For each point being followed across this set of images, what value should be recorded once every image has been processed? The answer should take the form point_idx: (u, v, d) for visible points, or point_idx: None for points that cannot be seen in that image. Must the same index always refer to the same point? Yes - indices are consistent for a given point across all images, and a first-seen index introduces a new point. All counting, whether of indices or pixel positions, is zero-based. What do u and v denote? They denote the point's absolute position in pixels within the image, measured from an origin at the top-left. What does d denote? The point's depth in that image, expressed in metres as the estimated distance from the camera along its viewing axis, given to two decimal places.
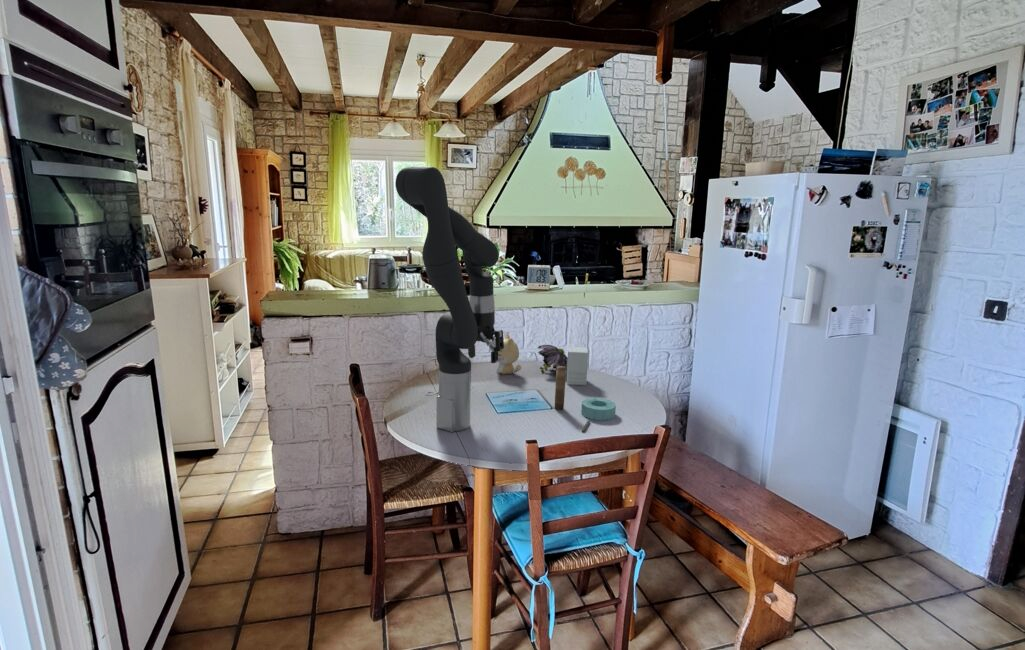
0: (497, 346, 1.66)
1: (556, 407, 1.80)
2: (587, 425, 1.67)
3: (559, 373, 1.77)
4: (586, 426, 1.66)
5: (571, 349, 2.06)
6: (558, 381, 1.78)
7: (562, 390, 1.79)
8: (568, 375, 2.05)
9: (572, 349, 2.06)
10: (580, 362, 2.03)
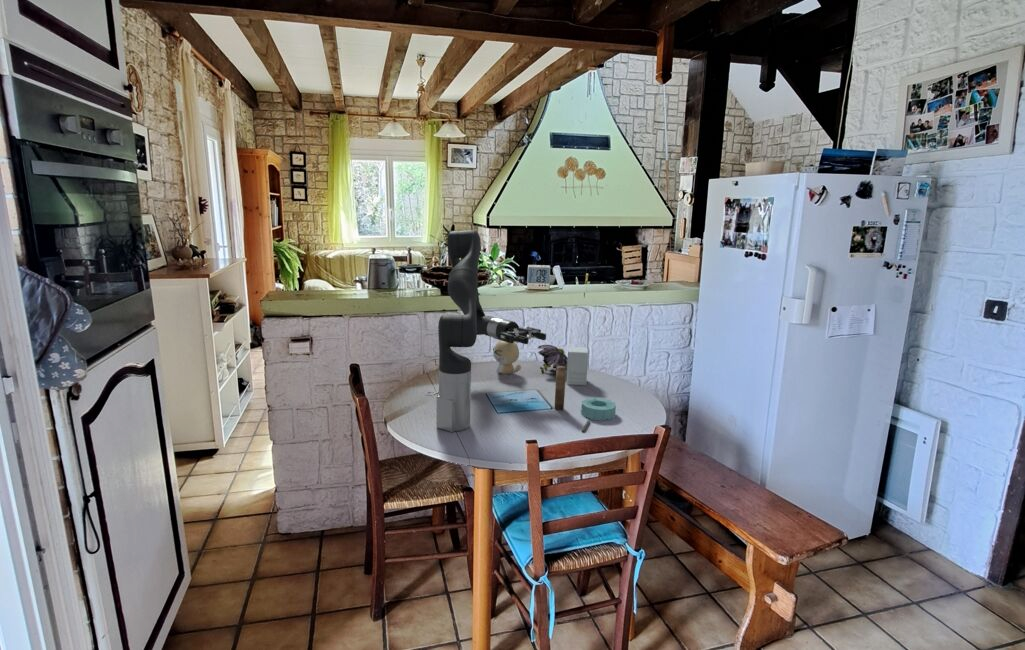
0: (537, 329, 1.93)
1: (556, 407, 1.80)
2: (587, 425, 1.67)
3: (559, 373, 1.77)
4: (586, 426, 1.66)
5: (571, 349, 2.06)
6: (558, 381, 1.78)
7: (562, 390, 1.79)
8: (568, 375, 2.05)
9: (572, 349, 2.06)
10: (580, 362, 2.03)
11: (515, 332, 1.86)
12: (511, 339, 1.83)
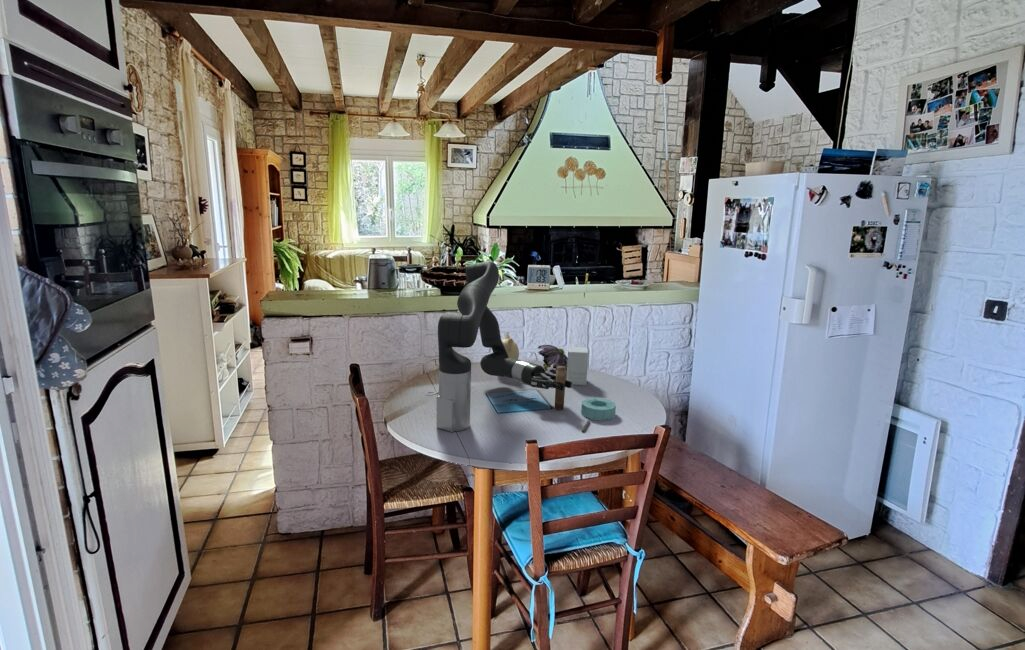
0: None
1: (556, 407, 1.80)
2: (587, 425, 1.67)
3: (559, 373, 1.77)
4: (586, 426, 1.66)
5: (571, 349, 2.06)
6: (558, 381, 1.78)
7: None
8: (568, 375, 2.05)
9: (572, 349, 2.06)
10: (580, 362, 2.03)
11: (548, 377, 1.80)
12: (546, 385, 1.78)
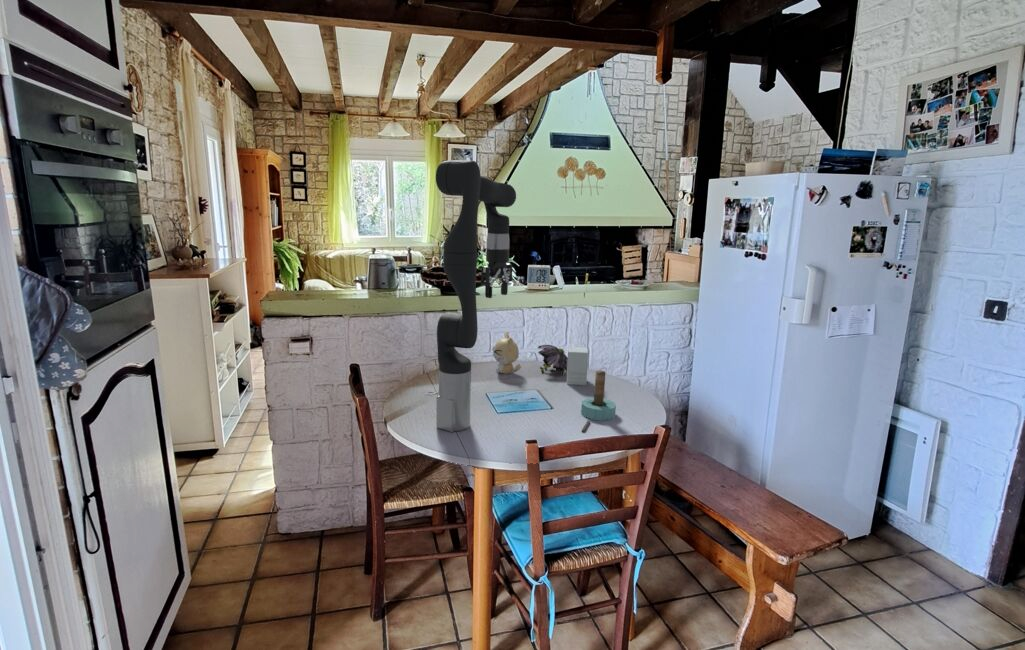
0: None
1: None
2: (587, 425, 1.67)
3: (598, 378, 1.74)
4: (586, 426, 1.66)
5: (571, 349, 2.06)
6: (597, 386, 1.75)
7: (601, 395, 1.75)
8: (568, 375, 2.05)
9: (572, 349, 2.06)
10: (580, 362, 2.03)
11: None
12: None
